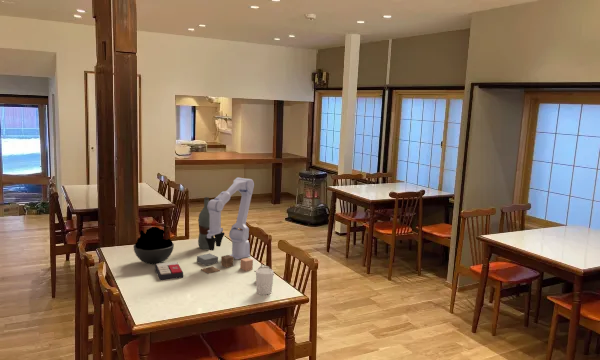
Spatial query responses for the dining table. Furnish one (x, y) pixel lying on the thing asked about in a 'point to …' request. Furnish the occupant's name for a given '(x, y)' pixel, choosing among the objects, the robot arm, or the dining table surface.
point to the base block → (207, 259)
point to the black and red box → (168, 270)
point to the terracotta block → (246, 264)
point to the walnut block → (226, 261)
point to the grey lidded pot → (264, 267)
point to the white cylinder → (264, 280)
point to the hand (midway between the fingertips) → (215, 248)
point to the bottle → (204, 225)
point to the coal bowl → (153, 246)
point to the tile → (210, 270)
